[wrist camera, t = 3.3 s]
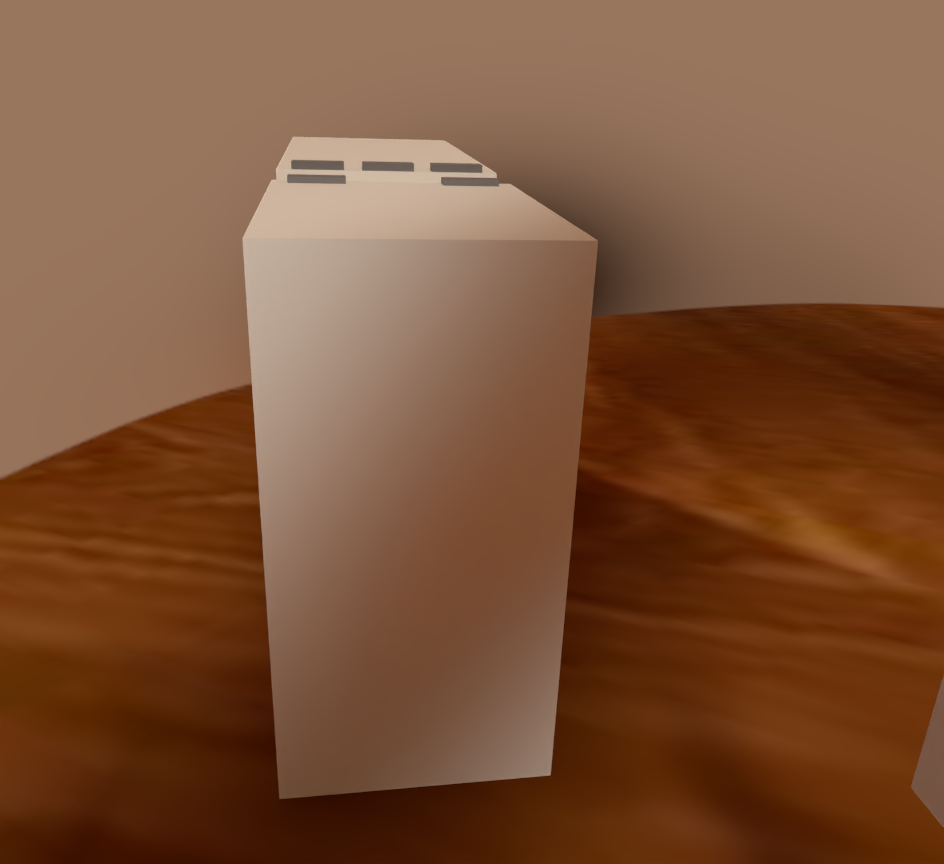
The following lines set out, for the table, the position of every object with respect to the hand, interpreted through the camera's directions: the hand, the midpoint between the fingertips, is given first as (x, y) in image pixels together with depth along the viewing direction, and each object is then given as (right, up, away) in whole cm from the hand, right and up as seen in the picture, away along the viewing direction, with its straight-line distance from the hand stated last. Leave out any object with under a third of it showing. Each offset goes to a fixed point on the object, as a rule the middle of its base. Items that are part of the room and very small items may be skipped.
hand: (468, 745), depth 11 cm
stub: (-2, -2, +12) cm, 12 cm away
